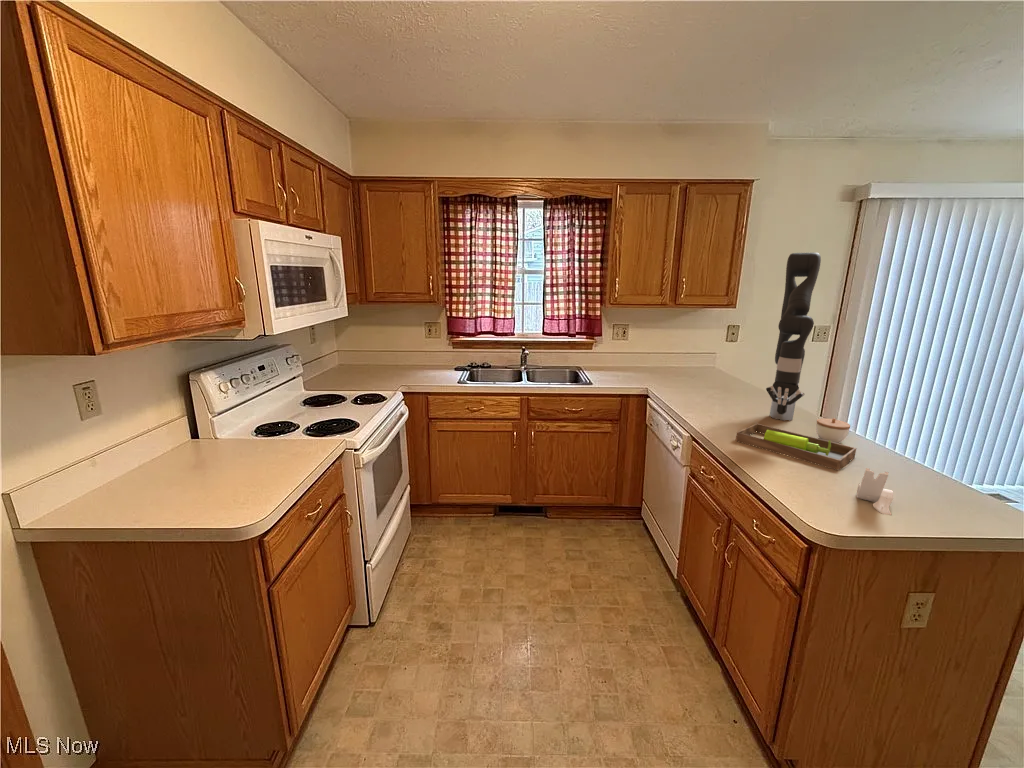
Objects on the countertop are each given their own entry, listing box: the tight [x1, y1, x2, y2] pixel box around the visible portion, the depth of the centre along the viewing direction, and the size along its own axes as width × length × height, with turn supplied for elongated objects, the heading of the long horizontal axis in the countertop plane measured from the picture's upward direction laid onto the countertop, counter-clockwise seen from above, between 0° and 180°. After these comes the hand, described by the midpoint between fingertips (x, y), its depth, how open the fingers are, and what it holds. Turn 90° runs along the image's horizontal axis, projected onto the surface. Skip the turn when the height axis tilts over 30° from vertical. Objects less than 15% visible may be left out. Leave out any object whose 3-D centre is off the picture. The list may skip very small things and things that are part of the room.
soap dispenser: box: [763, 430, 831, 456], centre depth 160 cm, size 6×7×20 cm
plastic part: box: [855, 467, 894, 516], centre depth 123 cm, size 8×10×12 cm
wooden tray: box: [735, 423, 857, 471], centre depth 165 cm, size 18×34×4 cm, turn 39°
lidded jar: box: [815, 417, 851, 444], centre depth 172 cm, size 11×11×9 cm
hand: (781, 413), depth 167 cm, fingers closed
